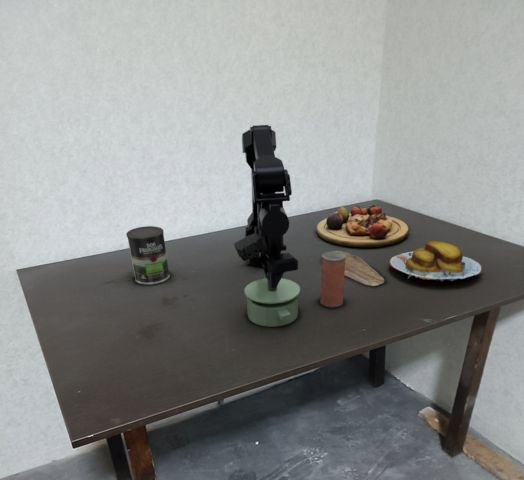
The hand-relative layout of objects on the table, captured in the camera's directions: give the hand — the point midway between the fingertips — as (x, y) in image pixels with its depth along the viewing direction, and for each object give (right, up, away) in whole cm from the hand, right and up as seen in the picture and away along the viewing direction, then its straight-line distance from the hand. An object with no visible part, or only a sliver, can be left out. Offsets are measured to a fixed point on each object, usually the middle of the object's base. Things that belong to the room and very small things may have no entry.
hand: (272, 285), depth 118 cm
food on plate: (+48, +7, +23) cm, 53 cm away
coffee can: (-35, +6, +26) cm, 44 cm away
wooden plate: (+33, +26, +53) cm, 67 cm away
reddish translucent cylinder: (+16, -3, +9) cm, 18 cm away
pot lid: (0, -1, +1) cm, 1 cm away
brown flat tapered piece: (+25, +8, +27) cm, 37 cm away
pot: (0, -7, +4) cm, 8 cm away
